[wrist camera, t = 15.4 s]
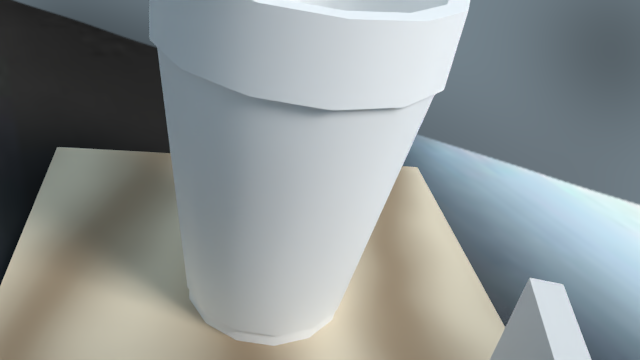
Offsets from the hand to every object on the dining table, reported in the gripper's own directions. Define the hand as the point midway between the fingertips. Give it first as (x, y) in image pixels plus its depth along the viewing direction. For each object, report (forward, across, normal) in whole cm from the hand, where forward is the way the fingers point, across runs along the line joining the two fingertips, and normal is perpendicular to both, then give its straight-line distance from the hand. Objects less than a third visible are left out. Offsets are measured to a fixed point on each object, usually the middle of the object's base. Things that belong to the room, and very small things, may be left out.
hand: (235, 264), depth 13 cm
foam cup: (+8, 0, -8) cm, 11 cm away
